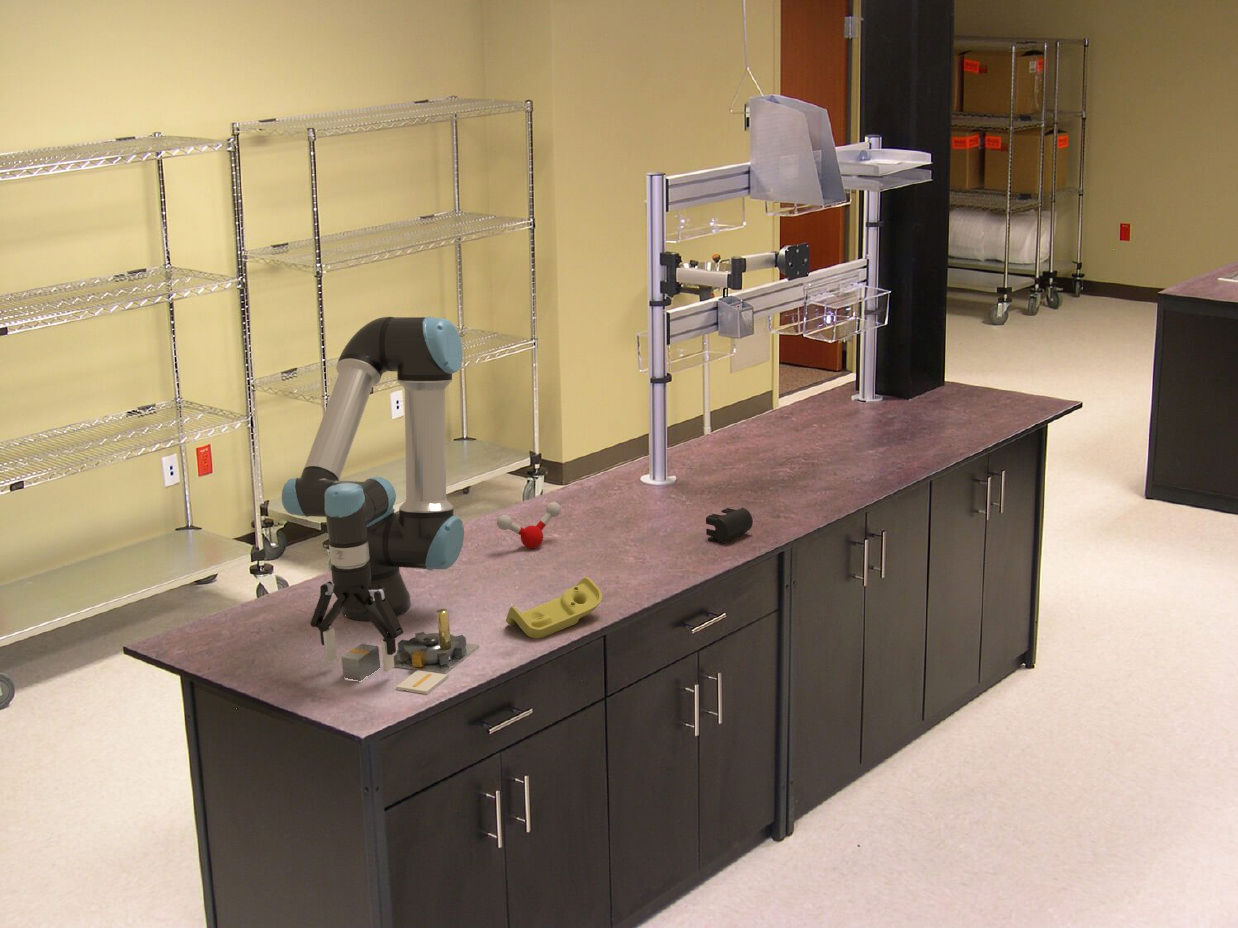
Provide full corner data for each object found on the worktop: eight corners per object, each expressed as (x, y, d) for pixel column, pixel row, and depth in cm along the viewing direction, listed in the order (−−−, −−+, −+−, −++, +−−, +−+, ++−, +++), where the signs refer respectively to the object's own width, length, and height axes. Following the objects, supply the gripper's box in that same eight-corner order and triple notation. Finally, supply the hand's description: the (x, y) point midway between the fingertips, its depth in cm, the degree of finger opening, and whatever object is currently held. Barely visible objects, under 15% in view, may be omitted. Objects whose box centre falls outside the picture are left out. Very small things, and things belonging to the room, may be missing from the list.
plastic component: (534, 632, 304) (507, 601, 310) (529, 656, 309) (503, 625, 315) (610, 601, 315) (584, 571, 321) (605, 624, 320) (579, 595, 325)
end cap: (728, 546, 355) (727, 520, 353) (705, 541, 360) (704, 515, 358) (753, 535, 362) (752, 509, 360) (731, 530, 367) (730, 504, 365)
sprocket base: (384, 665, 297) (384, 663, 297) (421, 639, 310) (421, 636, 309) (444, 674, 292) (444, 672, 292) (479, 647, 304) (479, 644, 304)
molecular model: (553, 535, 369) (550, 497, 366) (567, 541, 365) (565, 502, 362) (496, 553, 358) (493, 514, 356) (510, 559, 354) (507, 520, 351)
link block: (343, 680, 292) (341, 656, 290) (363, 666, 298) (361, 643, 296) (361, 683, 290) (358, 659, 289) (380, 669, 296) (378, 645, 295)
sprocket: (434, 634, 310) (429, 589, 307) (480, 648, 301) (476, 603, 298) (383, 656, 300) (378, 610, 297) (430, 672, 291) (425, 625, 288)
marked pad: (396, 689, 286) (395, 685, 286) (418, 672, 293) (417, 669, 293) (427, 694, 283) (426, 690, 283) (448, 677, 290) (448, 674, 290)
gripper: (286, 562, 289) (297, 663, 295) (394, 575, 279) (403, 679, 284) (309, 551, 296) (319, 649, 301) (415, 563, 285) (423, 665, 291)
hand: (360, 664), depth 293 cm, fingers open, 13 cm apart
